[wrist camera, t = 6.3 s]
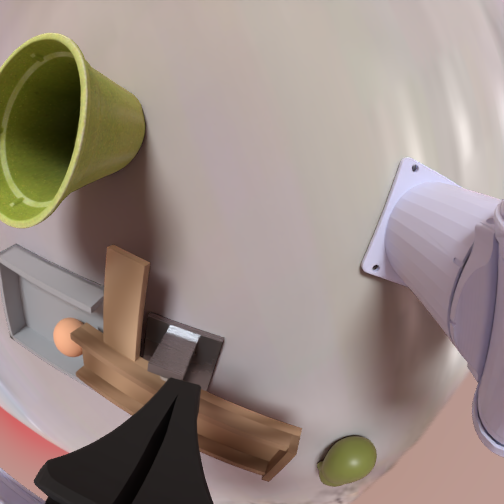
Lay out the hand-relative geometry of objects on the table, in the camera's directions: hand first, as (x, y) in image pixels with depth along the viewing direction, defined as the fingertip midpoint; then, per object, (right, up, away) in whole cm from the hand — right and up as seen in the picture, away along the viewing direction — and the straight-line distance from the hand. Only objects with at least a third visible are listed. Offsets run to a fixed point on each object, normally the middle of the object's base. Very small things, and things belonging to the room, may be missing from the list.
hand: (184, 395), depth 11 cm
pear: (+13, -17, +15) cm, 26 cm away
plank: (-2, -2, +7) cm, 7 cm away
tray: (-16, 0, +11) cm, 19 cm away
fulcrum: (-3, -3, +11) cm, 12 cm away
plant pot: (-7, +15, +6) cm, 17 cm away
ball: (-13, -1, +9) cm, 16 cm away
